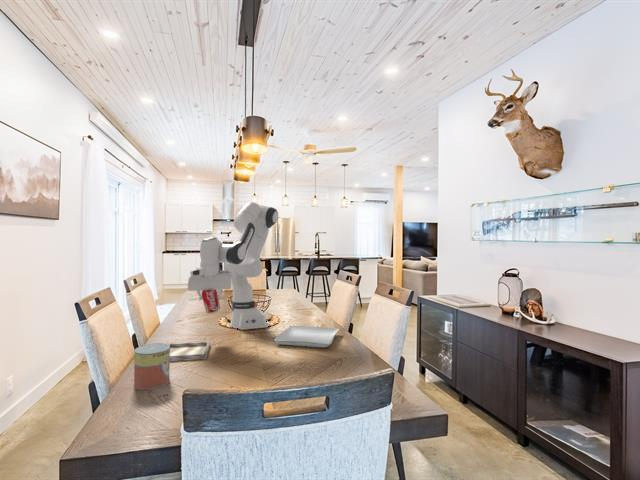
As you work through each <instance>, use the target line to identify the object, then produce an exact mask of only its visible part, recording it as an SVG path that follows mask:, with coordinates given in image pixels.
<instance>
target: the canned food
mask: <svg viewBox="0 0 640 480" xmlns="http://www.w3.org/2000/svg"><path fill="white" fill-rule="evenodd" d="M133 352H134V356H133V358H134V360H133V361H134V362H133V363H134V364H133V365H134V367H133V368H134V370H133V371H134V373H133V375H134V378H133V379H134V380H133V387H134V388H135V389H137V390H142V389H146V390H147V389H148V390H153V389H154V390H155V389H158V388H161V387H162V388H163V387H164V386H166V385H168V383H170V381H171V380H170V379H171V378H170V375H171V374H170V368H171V367H170V365H171V364H170V362H171V361H170V346H169V345H168V344H167V343H159V342H157V343H149V344H144V345H141V346H138V347H136V348H135V349H134V351H133ZM148 390H147V391H148Z"/></svg>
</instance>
